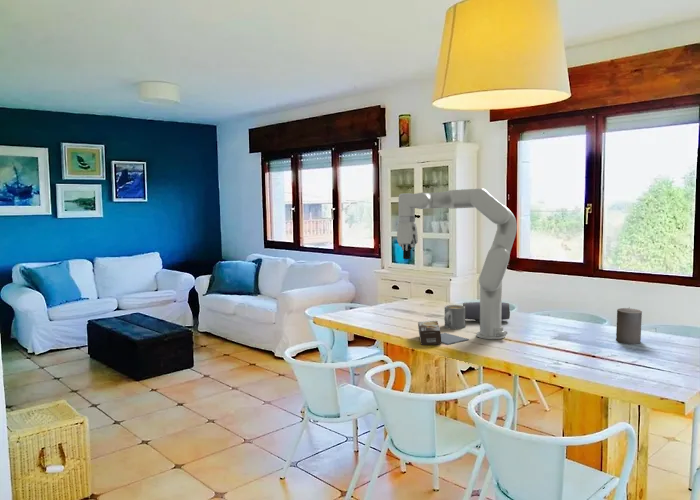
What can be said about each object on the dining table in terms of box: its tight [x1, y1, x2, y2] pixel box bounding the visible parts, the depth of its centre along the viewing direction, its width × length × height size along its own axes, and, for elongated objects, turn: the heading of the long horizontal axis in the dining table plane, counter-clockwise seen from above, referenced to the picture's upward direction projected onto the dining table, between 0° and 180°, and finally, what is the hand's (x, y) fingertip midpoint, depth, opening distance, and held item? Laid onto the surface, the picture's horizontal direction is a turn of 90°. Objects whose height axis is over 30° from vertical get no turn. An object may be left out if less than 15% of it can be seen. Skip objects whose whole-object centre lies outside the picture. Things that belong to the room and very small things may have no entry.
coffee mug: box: [443, 304, 466, 330], centre depth 272 cm, size 13×10×10 cm
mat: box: [441, 332, 470, 346], centre depth 250 cm, size 15×13×1 cm
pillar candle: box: [615, 307, 643, 345], centre depth 240 cm, size 10×10×15 cm
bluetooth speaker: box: [462, 301, 511, 323], centre depth 285 cm, size 23×9×10 cm, turn 84°
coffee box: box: [417, 320, 442, 346], centre depth 247 cm, size 9×6×16 cm
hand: (406, 258), depth 261 cm, fingers closed
